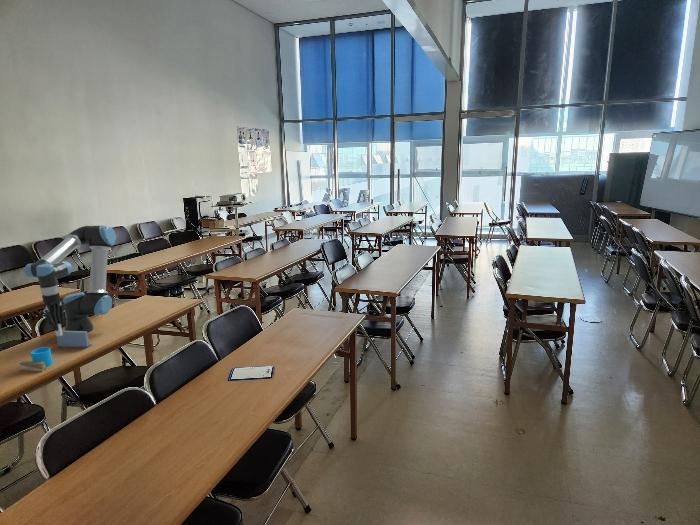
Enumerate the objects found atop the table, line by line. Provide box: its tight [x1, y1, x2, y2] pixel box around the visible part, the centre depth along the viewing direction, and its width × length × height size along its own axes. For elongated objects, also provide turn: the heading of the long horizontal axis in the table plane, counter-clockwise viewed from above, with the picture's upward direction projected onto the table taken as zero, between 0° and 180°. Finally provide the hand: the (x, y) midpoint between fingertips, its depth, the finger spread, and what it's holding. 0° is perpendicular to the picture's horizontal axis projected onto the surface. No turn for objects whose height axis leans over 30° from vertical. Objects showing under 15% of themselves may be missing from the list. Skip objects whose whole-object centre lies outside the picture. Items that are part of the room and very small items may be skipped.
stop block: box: [19, 360, 47, 372], centre depth 223 cm, size 2×12×4 cm, turn 82°
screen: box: [56, 330, 93, 349], centre depth 250 cm, size 4×18×9 cm, turn 82°
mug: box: [30, 346, 54, 368], centre depth 229 cm, size 12×8×8 cm
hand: (59, 335), depth 239 cm, fingers closed
